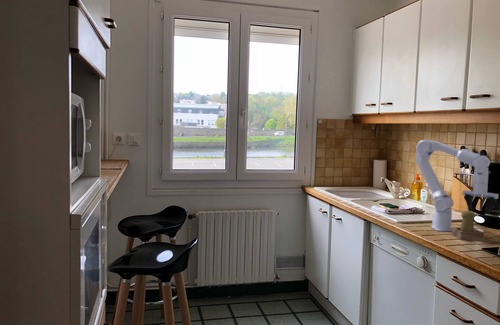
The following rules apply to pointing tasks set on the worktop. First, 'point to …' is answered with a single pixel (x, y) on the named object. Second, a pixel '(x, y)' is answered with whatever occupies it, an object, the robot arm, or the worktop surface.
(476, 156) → the robot arm
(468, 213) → the cork
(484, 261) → the worktop surface
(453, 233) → the holder
